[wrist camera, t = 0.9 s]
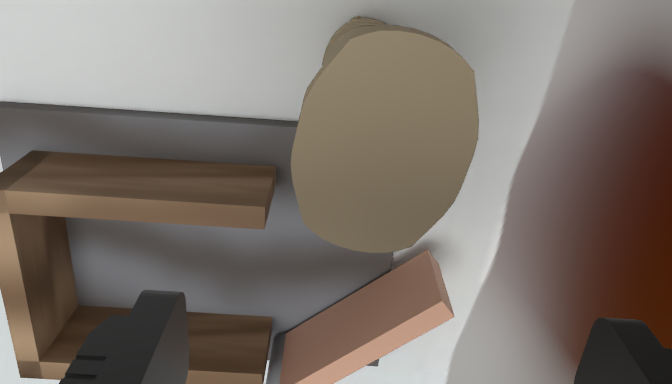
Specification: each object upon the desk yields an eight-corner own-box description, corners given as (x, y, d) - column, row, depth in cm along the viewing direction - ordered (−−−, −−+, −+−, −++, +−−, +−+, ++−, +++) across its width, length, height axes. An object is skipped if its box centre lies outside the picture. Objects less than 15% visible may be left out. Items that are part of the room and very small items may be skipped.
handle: (302, 95, 30) (272, 232, 16) (331, -29, 27) (324, 9, 14) (389, 116, 30) (430, 267, 17) (425, -4, 28) (510, 58, 14)
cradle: (1, 101, 30) (-74, 139, 25) (406, 129, 31) (420, 171, 25) (45, 336, 37) (-5, 406, 31) (376, 355, 37) (383, 427, 32)
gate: (425, 246, 32) (439, 298, 28) (440, 265, 33) (456, 319, 28) (267, 341, 35) (257, 401, 31) (283, 357, 36) (275, 418, 31)
